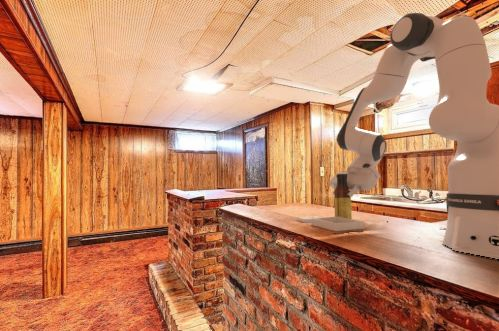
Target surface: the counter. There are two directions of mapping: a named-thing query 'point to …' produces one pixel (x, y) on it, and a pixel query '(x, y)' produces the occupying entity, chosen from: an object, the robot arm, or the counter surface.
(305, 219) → the tile
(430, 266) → the counter surface
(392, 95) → the robot arm
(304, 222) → the slate board
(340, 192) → the sauce bottle
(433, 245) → the counter surface
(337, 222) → the bin
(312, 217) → the tile
